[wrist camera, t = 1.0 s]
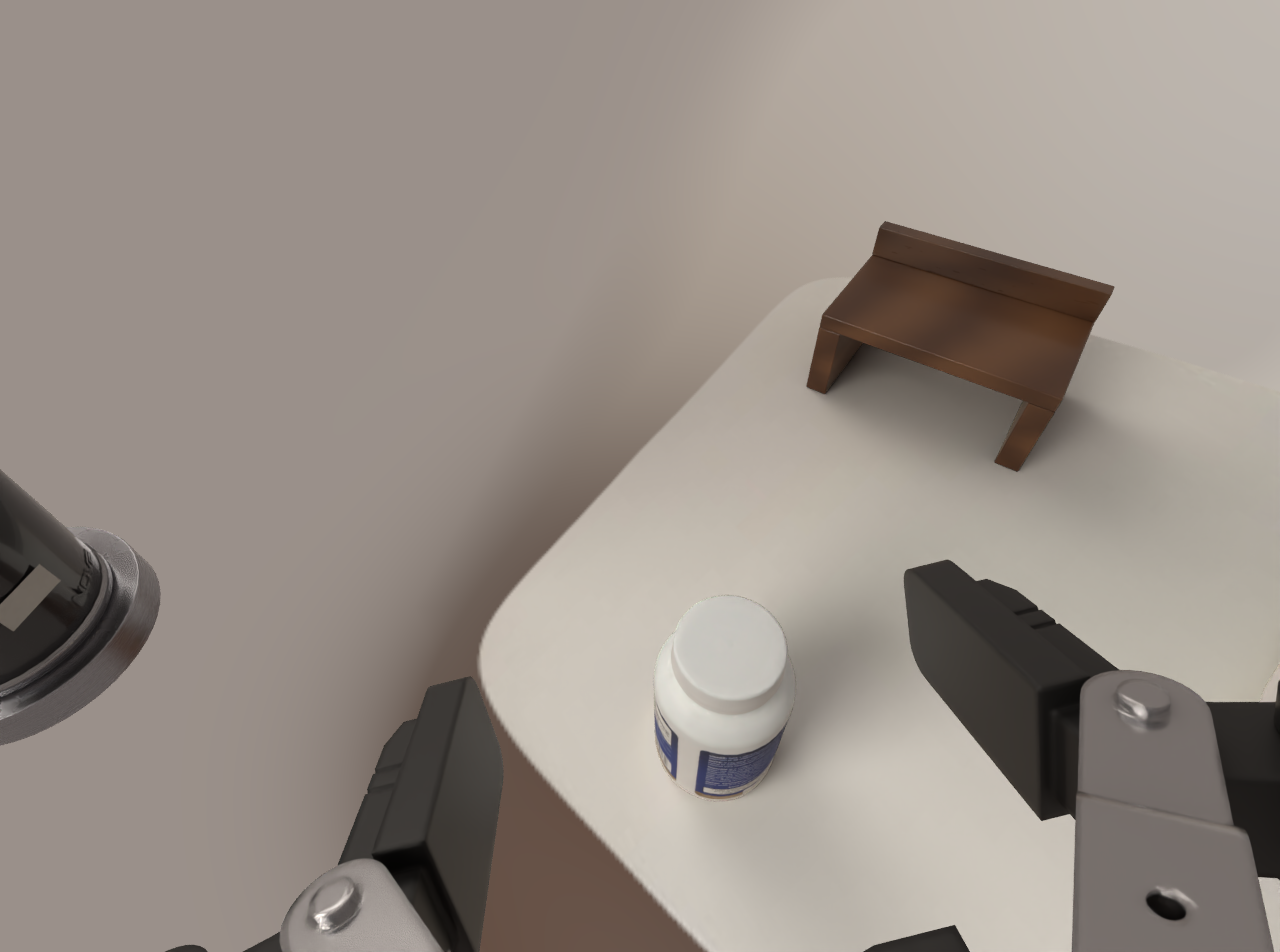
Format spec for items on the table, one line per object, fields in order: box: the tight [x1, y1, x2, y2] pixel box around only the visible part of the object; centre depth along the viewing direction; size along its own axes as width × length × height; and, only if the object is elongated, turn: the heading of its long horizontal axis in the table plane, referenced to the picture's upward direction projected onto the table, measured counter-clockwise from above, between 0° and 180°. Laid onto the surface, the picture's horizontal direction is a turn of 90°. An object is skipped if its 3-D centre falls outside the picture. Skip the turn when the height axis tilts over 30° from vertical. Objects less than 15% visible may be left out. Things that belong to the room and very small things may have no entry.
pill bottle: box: [653, 595, 796, 801], centre depth 27 cm, size 5×5×10 cm
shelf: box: [807, 221, 1114, 471], centre depth 42 cm, size 14×9×8 cm, turn 55°
